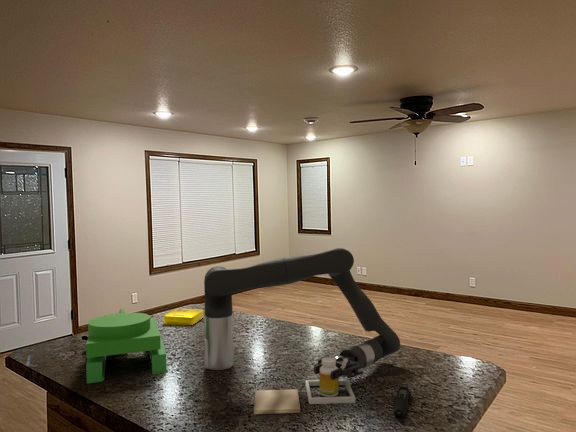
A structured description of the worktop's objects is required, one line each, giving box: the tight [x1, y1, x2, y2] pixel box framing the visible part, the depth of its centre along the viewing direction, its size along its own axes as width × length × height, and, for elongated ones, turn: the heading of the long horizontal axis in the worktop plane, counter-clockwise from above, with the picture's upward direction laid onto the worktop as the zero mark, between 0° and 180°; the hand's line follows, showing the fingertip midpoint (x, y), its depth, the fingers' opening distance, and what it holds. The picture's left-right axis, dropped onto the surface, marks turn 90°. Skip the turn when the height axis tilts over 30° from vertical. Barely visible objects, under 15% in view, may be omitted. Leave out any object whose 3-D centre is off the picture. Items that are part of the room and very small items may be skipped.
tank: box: [85, 308, 169, 384], centre depth 153 cm, size 24×35×16 cm
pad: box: [253, 388, 301, 415], centre depth 118 cm, size 12×12×1 cm
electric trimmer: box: [393, 386, 412, 417], centre depth 116 cm, size 4×16×3 cm, turn 159°
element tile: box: [163, 307, 205, 326], centre depth 205 cm, size 15×15×5 cm
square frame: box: [304, 378, 356, 405], centre depth 124 cm, size 13×13×1 cm
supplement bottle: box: [319, 356, 340, 397], centre depth 124 cm, size 5×5×10 cm
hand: (323, 373), depth 122 cm, fingers closed on supplement bottle, 5 cm apart
